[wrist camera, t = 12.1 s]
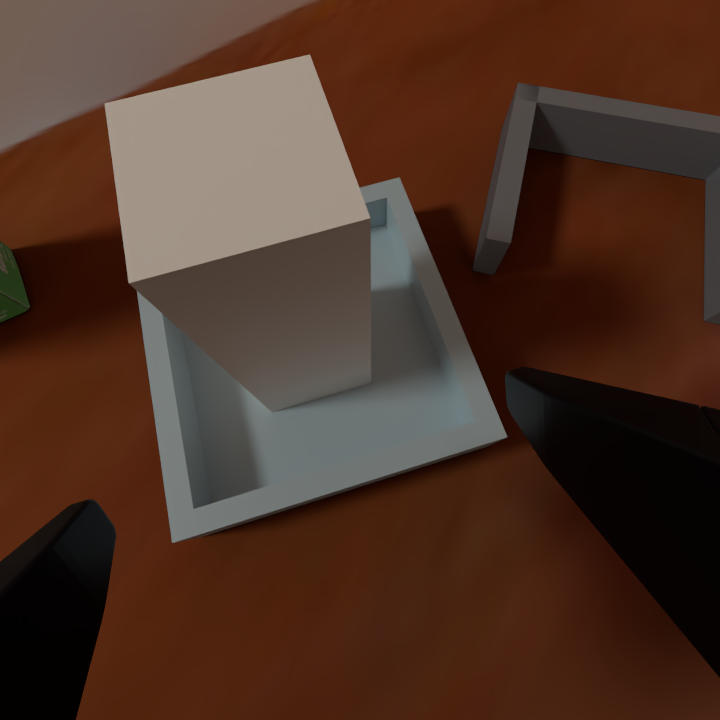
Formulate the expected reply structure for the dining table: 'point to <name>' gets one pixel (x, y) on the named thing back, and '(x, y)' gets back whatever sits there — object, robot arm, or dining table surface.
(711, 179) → the bay
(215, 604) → the dining table surface
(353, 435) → the tray
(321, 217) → the tall beige block
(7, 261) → the ink box
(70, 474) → the dining table surface
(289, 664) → the dining table surface
